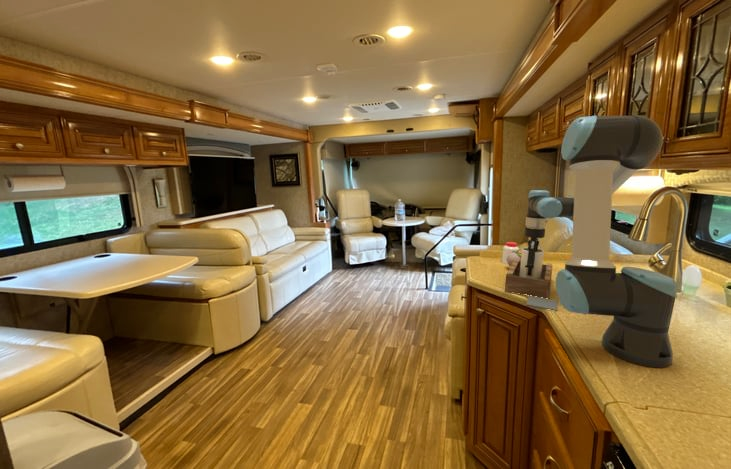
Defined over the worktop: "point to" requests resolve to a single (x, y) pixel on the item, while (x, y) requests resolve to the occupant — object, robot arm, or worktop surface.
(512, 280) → the crate
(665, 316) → the robot arm
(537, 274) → the cup
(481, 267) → the worktop surface
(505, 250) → the pill bottle
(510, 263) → the decorative fruit
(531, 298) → the panel
